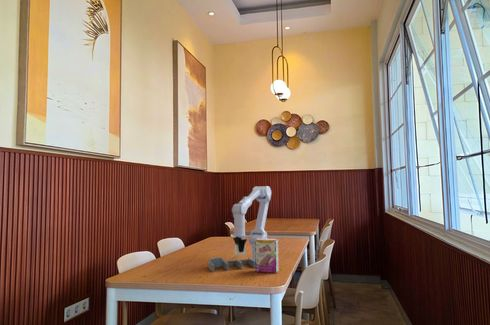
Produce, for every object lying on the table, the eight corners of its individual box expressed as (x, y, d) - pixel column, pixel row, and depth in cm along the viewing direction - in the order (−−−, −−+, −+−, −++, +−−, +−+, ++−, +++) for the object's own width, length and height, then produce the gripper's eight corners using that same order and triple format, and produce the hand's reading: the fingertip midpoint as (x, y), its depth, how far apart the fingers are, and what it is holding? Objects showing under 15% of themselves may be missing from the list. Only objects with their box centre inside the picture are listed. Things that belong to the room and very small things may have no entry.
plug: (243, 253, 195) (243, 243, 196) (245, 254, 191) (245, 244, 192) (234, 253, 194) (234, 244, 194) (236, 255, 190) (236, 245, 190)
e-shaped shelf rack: (249, 263, 201) (248, 254, 202) (255, 268, 189) (255, 258, 190) (208, 267, 195) (208, 257, 195) (212, 271, 183) (212, 262, 183)
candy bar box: (255, 272, 180) (254, 239, 181) (258, 270, 185) (257, 238, 186) (276, 273, 177) (275, 240, 178) (279, 271, 181) (278, 238, 182)
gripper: (229, 225, 200) (229, 249, 199) (236, 227, 186) (236, 254, 185) (241, 224, 202) (241, 248, 201) (248, 227, 188) (249, 253, 187)
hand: (240, 251), depth 193 cm, fingers closed on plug, 4 cm apart
